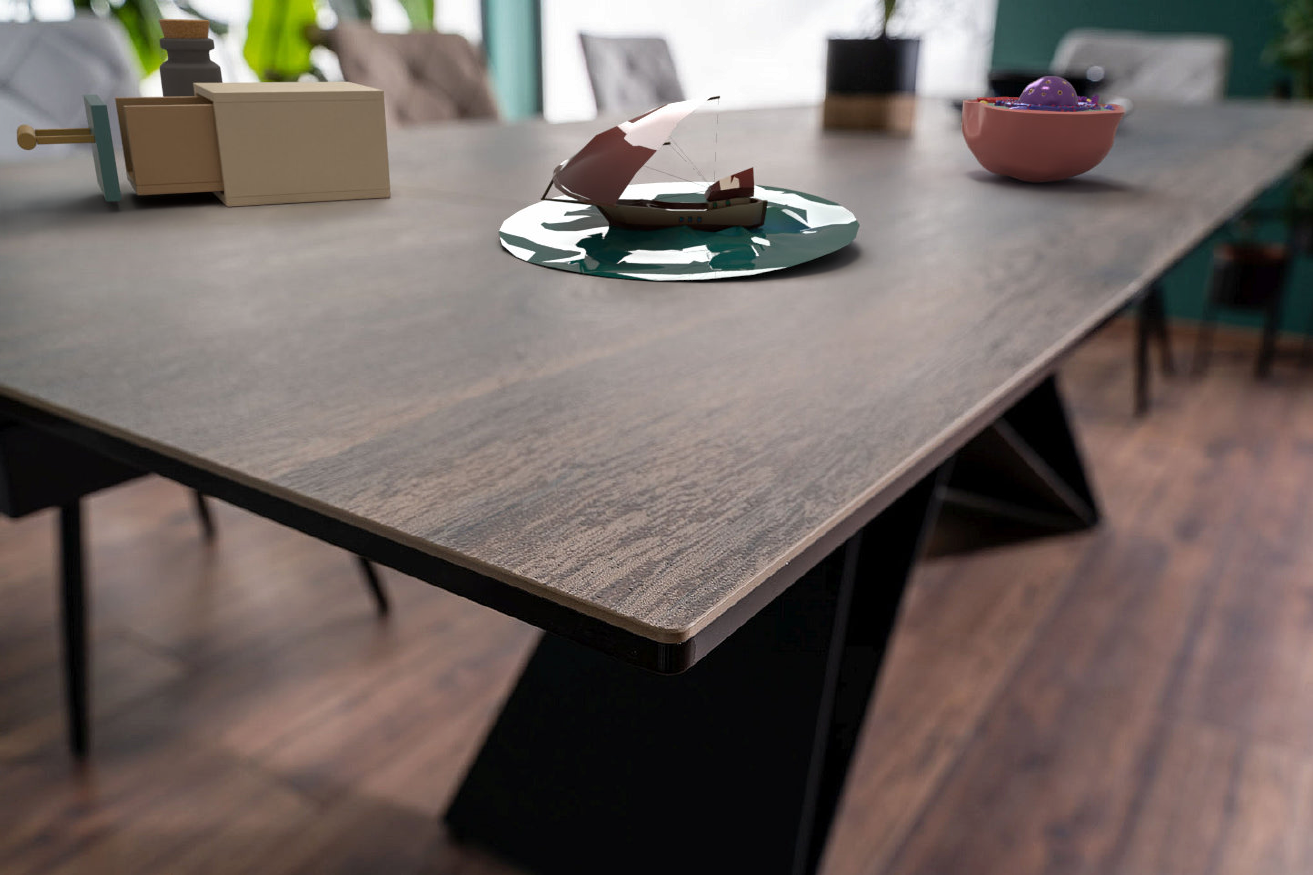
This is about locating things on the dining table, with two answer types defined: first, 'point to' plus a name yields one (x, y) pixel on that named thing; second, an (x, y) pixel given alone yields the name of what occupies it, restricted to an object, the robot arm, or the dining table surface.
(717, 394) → the dining table surface
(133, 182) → the drawer
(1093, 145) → the cell model
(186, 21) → the bottle
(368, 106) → the cabinet
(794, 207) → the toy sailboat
